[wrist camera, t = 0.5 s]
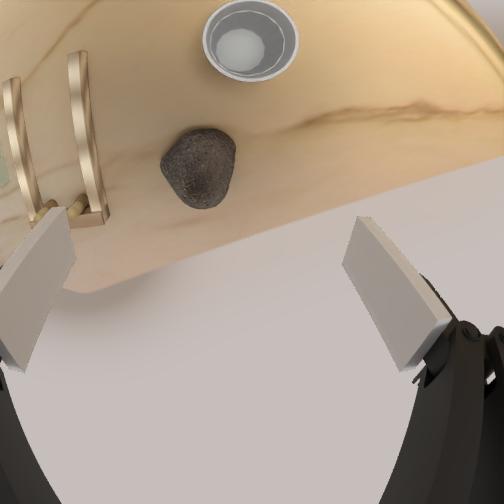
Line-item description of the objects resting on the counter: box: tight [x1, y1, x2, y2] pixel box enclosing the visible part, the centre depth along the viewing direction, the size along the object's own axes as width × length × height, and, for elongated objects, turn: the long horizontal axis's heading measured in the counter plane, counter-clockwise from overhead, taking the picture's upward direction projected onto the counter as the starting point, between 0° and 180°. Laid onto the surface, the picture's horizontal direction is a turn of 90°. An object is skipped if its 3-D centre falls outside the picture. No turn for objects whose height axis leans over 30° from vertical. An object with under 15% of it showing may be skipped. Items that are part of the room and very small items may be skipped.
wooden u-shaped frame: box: [2, 51, 110, 229], centre depth 29 cm, size 24×13×5 cm, turn 0°
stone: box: [160, 129, 236, 209], centre depth 35 cm, size 10×8×10 cm
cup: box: [202, 0, 299, 82], centre depth 24 cm, size 8×8×12 cm
